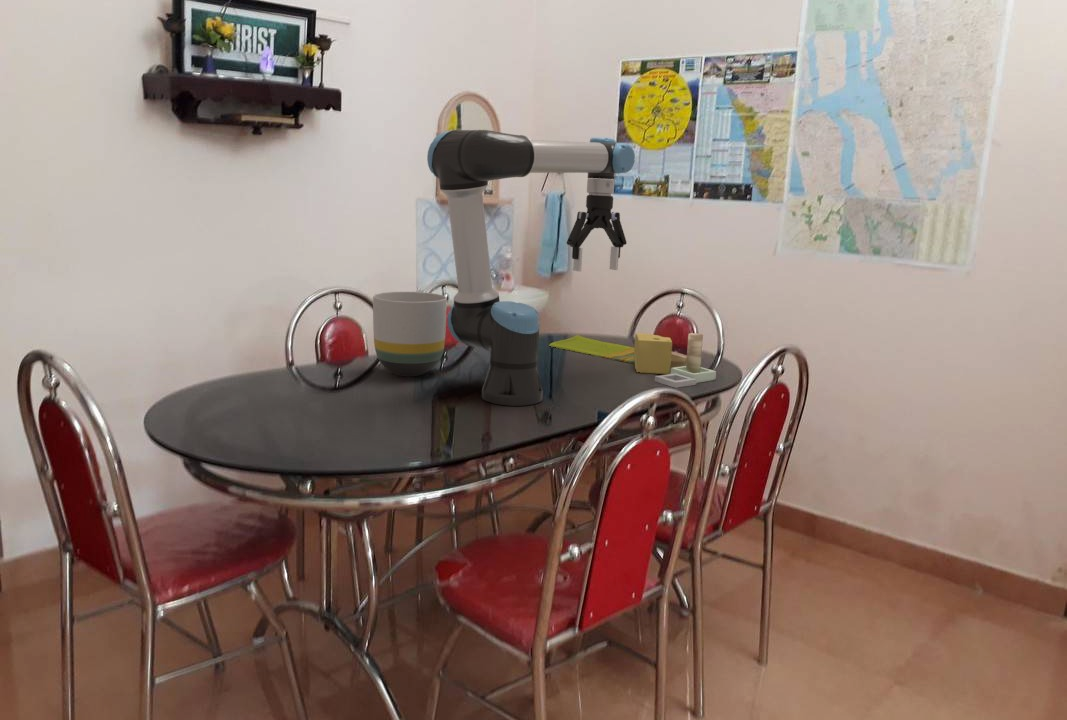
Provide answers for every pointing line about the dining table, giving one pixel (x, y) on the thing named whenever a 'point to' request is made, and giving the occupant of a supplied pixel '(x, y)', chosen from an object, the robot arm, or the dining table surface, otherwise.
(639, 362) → the cheese
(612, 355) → the dish towel
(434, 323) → the planter
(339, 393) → the dining table surface
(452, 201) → the robot arm
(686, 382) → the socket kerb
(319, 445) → the dining table surface
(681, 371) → the tray
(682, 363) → the stop block
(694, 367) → the dowel
